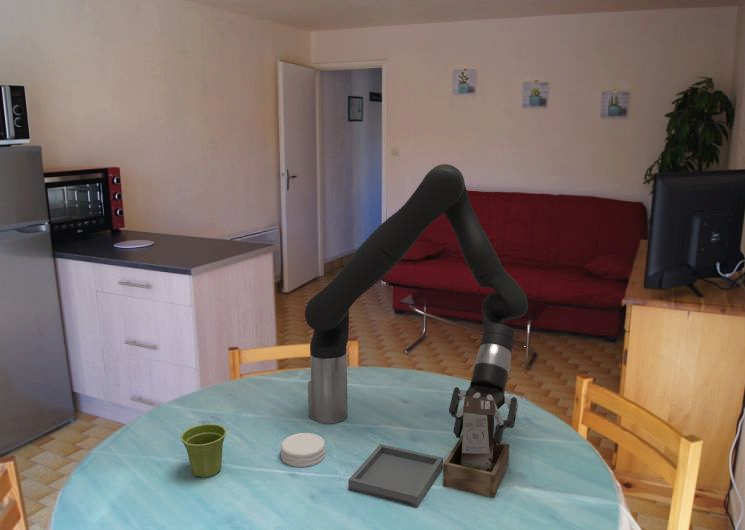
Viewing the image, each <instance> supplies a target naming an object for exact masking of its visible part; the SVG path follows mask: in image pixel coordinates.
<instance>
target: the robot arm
mask: <svg viewBox="0 0 745 530" xmlns="http://www.w3.org/2000/svg"><path fill="white" fill-rule="evenodd" d="M465 183H466V182H465V177H464V175H463V173H462V172H461V171H460V170H459V168H458V167H455V166H454V165H452V164H446V163H443V164H438V165H436V166H434V167H433V168H431V169H430V170H429V171H428V172H427V173H426V174H425V176H424V177H423V179H422V180H421V182H420V183H419V185H418V186H417V188H416V189H415V190H414V192H413V193H412V194H411V196H410V197H409V198H408V200H407V201H406V202H405V203H404V204H403V205H402V207H400V208H399V209H398V210H396V211H395V212H394V213H393V214H392V215H391V216H390V217H388V218H387V219H385V220H384V221H383V222H382V223H381V224H380V225H379V226H378V227H377V228H376V229H374V231H373V232H371V234H370V235H369V236H368V237H367V238H366V239H364V242H362V243H361V245H360V246H359V247H358V249H357V250H356V251H355V252H354V253H353V255H352V256H351V257H350V258H349V260H347V262H346V263H345V265H344V267H343V268H342V269H341V270H340V272H339V273H338V274H337V276H336V277H334V278H333V280H332V281H331V282H329V283H328V284H327V285H326V286H325V287H324V288H323V289H321V290H320V291H319V292H317V293H316V294H315V295H314V296H312V297H311V298H310V299H309V300H308V302H307V304H306V306H305V310H304V318H305V322H306V325H308V327H309V328H311V329H312V330H313V334H312V337H311V340H310V343H309V357H310V358H309V360H310V380H309V381H308V382H307V399H308V400H307V401H308V408H307V409H308V417H309V418H311V419H313V421H315V422H318V423H321V424H336V423H340V422H343V421H344V420H346V419H347V418H348V416H349V415H348V411H349V409H348V408H349V407H348V361H347V360H348V355H347V354H348V352H347V351H348V350H347V349H348V348H347V346H348V342H349V332H350V308H351V307H352V306H353V304H354V303H355V302H356V301H357V300H358V299H359V298H360V297H361V296H362V295H363V294H364V293H366V292H367V291H369V290H370V289H371V288H373V286H374V285H376V284H377V283H378V282H379V281H381V280H382V279H383V278H384V277H385V276H386V275H388V274H389V272H391V270H392V269H394V268H395V266H397V265H398V263H399V262H400V261H401V260H403V258H404V257H405V255H406V254H407V253H408V252H409V251H410V250H411V248H412V247H413V246H414V245H415V243H416V242H417V240H418V239H419V238H420V237H421V235H422V234H423V233H424V231H425V230H426V229H427V228H428V227H429V226H430V225H431V224H432V223H434V221H436V220H437V219H438V218H439V217H440V216H441V215H443V214H444V215H445V216H446V218H447V220H448V222H449V223H450V225H451V228H452V230H453V232H454V235H455V237H456V239H457V243H458V245H459V248H460V250H461V254H462V255H463V259H464V260H465V262H466V264H467V267H468V269H469V270H470V271H469V272H471V275H472V277H473V278H474V280H475V282H476V284H477V285H478V286H479V287H481V288H490V289H492V290H494V292H491V293H489V294H487V295H486V297H485V298H484V300H483V302H482V304H481V305H482V306H481V312H482V328H483V333H482V337H481V340H480V346H479V349H478V352H477V354H476V359H475V361H474V367H473V371H472V375H471V380H470V384H469V387H468V389H466V390H464V389H460V388H459V387H458V386H457V387H453V388H454V389H453V391H452V395H451V400H450V403H449V408H448V412H449V414H450V416H451V417H452V418H454V419H455V422H454V425H453V429H452V430H453V431H452V432H453V434H454V435H455V436H454V437H456V438H457V439H460V437H461V436H462V429H463V408H464V405H463V406H462V408H460V410H459V405H460V401H462V400H464V398H465V396H473V398H480V397H487V400H492V401H494V420H495V421H496V422H497V425H495V427H494V438H493V445H494V446H498V444H500V443H501V442H502V443H503V441H502V440H503V437H504V432H505V429H513V428H514V427H515V424H516V418H517V412H518V407H519V402H518V399H517V397H515V396H513V397H506V396H505V392H506V389H507V388H506V387H507V383H508V378H509V373H510V370H511V363H512V362H511V358H512V352H513V351H512V350H513V346H514V341H515V331H514V330H513V328H512V327H510V326H509V325H507V324H505V323H504V321H508V320H513V319H514V320H515V319H519V318H522V317H524V316H525V315H526V314H527V312H528V309H529V302H528V298H527V295H526V293H525V291H524V290H523V289H522V287H521V286H520V285H519V284H518V283H517V282H516V281H515V279H514V278H513V277H512V276H511V274H510V273H509V272H508V271H507V270H506V269H505V268H504V266H503V265H502V262H501V260H500V259H499V257H498V254H497V252H496V251H495V249H494V247H493V245H492V243H491V241H490V240H489V238H488V236H487V234H486V232H485V230H484V229H483V226H482V225H481V223H480V221H479V219H478V217H477V215H476V211H474V208H473V206H472V203H471V200H470V197H469V193H468V190H467V187H466V184H465ZM505 404H506V407H507V409H508V413H507V417H506V418H507V419H503V417H502V416H501V413H500V411H499V410H500V408H501V407H503V406H504V405H505Z"/></svg>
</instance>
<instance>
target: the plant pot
mask: <svg viewBox="0 0 745 530" xmlns="http://www.w3.org/2000/svg"><path fill="white" fill-rule="evenodd" d="M226 435H227V429H226V428H225V427H224V426H222V425H219V424H216V423H215V424H213V423H210V424H209V423H207V424H206V423H205V424H199V425H196V426H192V427H190V428H188V429H186V430H185V431H183V432H182V434H181V436H180V440H181V442H182V443H183V445H184V448H185V449H186V454H187V455H188V456H187V457H188V461H189V465H190V470H191V474H192V475H193V476H194V477H200V478H202V479H203V478H210V477H213V476H215V475H217V474H218V472H219V471H221V470H222V461H223V460H222V459H223V447H224V441H225V437H226Z"/></svg>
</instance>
